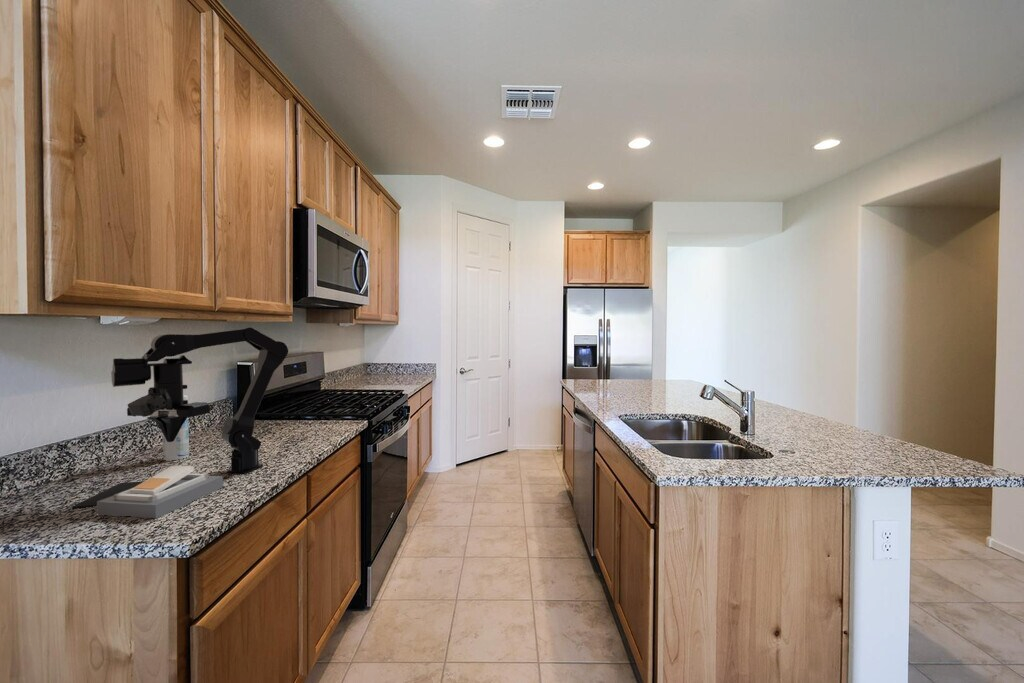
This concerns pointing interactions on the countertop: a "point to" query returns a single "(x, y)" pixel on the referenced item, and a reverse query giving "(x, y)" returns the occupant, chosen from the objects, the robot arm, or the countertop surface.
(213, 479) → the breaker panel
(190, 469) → the rocker switch
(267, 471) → the countertop surface
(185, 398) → the spray can
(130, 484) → the smartphone
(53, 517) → the countertop surface
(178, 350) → the robot arm
